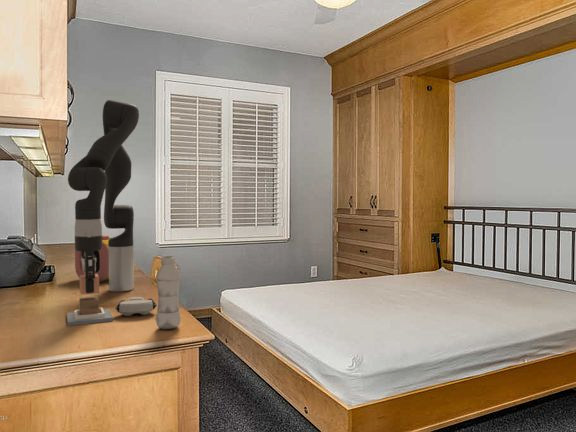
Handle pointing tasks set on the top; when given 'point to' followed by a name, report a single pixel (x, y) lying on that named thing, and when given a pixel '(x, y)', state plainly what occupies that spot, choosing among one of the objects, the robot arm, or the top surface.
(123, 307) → the robot toy
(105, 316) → the baseplate
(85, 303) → the walnut cube
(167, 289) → the plastic bottle
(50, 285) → the top surface
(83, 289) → the terracotta cube
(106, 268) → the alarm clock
